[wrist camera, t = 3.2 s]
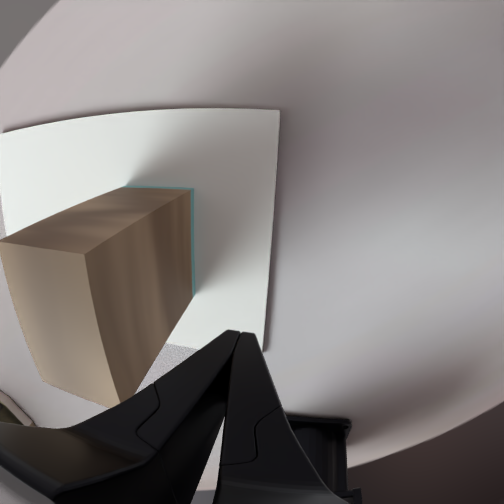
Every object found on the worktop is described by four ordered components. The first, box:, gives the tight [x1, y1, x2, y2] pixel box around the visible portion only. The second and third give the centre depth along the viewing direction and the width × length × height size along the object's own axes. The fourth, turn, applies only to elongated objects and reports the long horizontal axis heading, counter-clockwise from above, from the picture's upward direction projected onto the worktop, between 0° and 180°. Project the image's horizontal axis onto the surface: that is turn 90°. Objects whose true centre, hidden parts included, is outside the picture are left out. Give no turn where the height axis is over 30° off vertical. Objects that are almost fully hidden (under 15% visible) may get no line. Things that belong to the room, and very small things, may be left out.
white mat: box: [0, 108, 280, 351], centre depth 17 cm, size 20×14×1 cm
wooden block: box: [0, 186, 195, 408], centre depth 13 cm, size 4×6×9 cm, turn 177°
